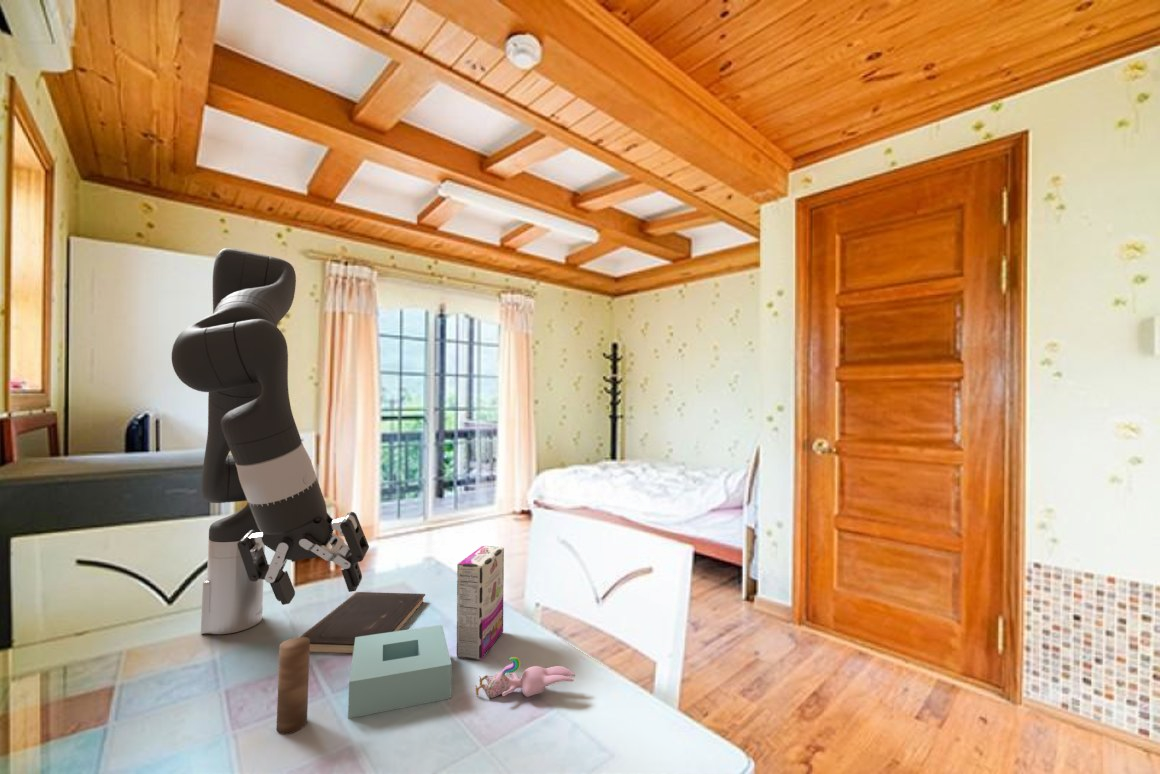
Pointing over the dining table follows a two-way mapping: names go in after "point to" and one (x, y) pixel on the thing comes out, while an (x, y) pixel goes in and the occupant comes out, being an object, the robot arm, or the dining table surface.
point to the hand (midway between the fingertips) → (322, 593)
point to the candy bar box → (479, 601)
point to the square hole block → (399, 670)
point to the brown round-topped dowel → (293, 685)
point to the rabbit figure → (523, 679)
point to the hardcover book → (362, 619)
